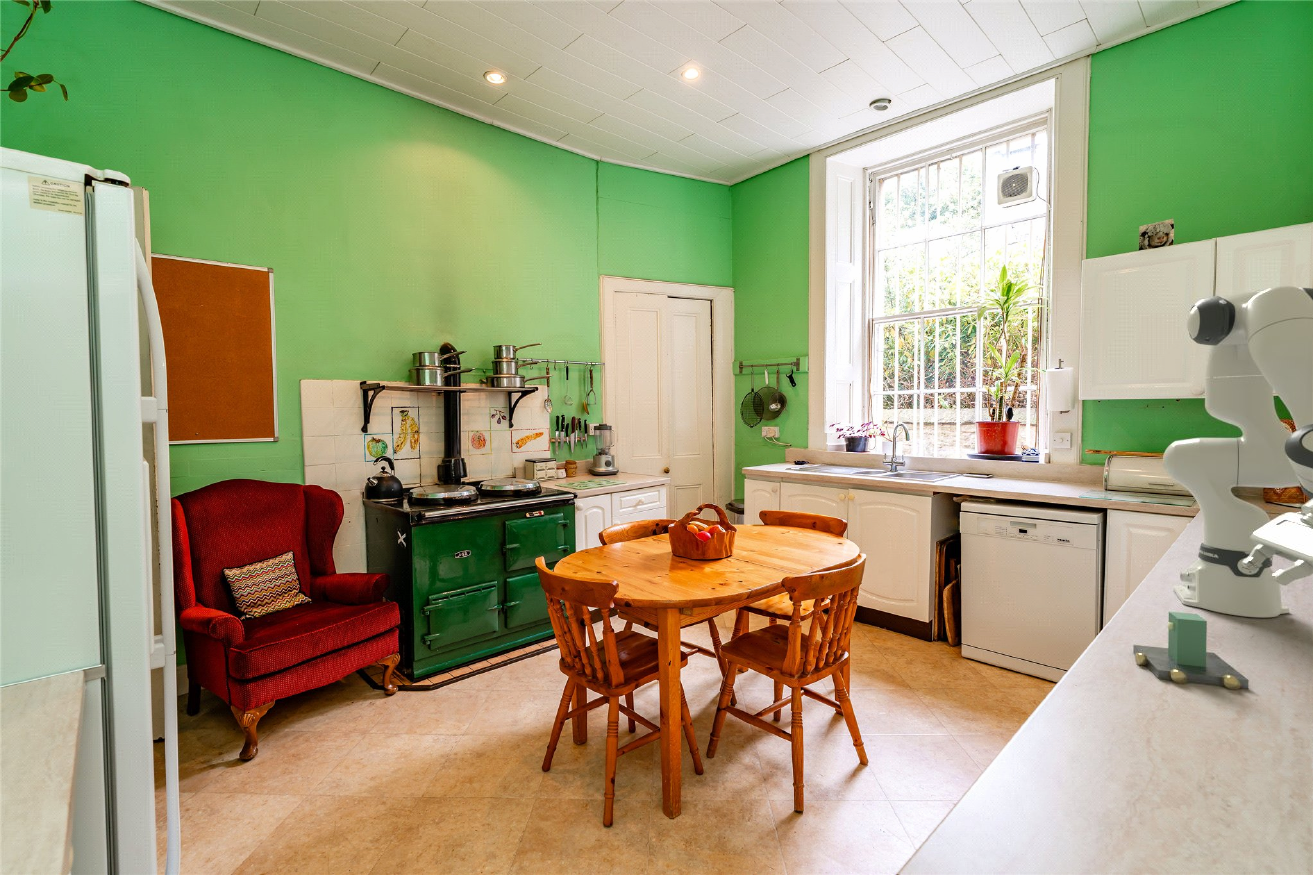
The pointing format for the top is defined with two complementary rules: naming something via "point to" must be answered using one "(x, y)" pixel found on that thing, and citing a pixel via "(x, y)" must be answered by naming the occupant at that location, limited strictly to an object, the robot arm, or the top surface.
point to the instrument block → (1187, 639)
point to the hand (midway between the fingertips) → (1261, 574)
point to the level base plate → (1189, 668)
